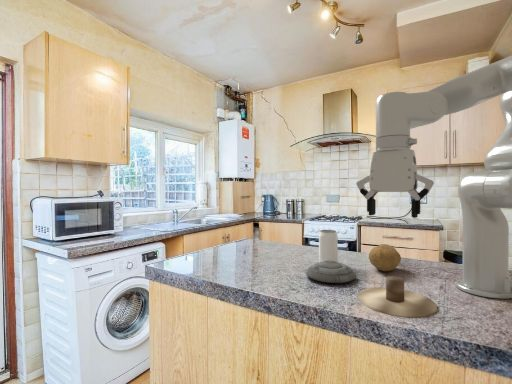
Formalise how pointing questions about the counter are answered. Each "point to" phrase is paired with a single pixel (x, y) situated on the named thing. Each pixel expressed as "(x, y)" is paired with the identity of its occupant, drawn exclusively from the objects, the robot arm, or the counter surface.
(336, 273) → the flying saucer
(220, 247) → the counter surface
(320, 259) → the can
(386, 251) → the potato
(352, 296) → the counter surface
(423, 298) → the lid
